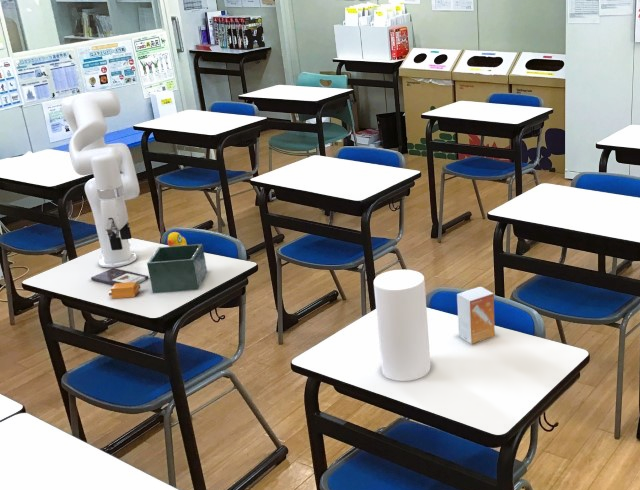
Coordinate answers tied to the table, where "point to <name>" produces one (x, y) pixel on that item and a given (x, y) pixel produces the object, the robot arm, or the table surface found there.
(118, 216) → the robot arm
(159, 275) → the bin
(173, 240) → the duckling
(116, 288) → the packet
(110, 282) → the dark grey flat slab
